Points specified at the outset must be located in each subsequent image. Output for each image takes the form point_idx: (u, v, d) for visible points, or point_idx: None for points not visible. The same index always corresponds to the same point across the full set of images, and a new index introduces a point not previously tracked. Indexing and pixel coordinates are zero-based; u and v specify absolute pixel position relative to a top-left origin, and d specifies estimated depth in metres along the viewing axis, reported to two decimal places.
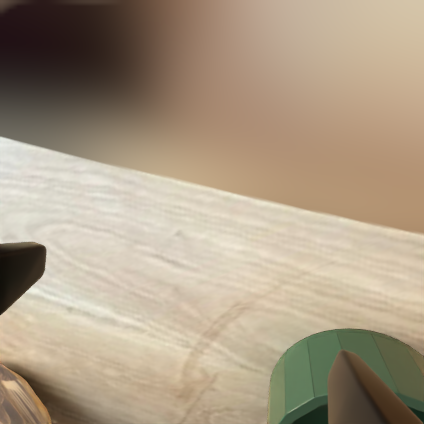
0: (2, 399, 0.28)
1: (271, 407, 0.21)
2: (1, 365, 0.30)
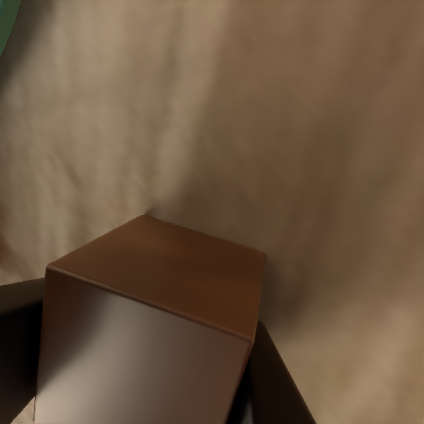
0: None
1: None
2: None
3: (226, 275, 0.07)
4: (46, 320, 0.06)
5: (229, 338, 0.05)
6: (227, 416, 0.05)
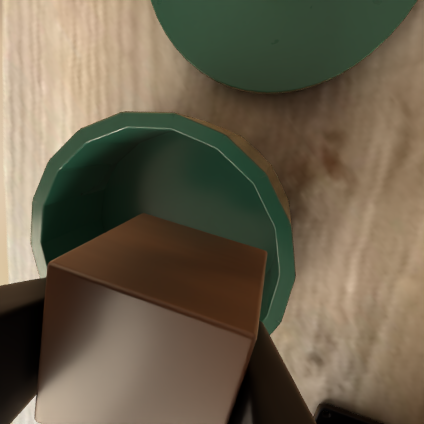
0: None
1: None
2: None
3: (228, 273, 0.07)
4: (47, 317, 0.06)
5: (232, 335, 0.05)
6: (229, 414, 0.05)
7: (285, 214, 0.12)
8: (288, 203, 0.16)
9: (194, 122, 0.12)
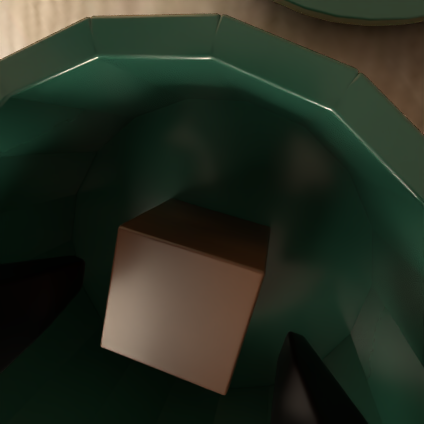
0: None
1: None
2: None
3: (242, 238, 0.09)
4: (116, 266, 0.08)
5: (248, 272, 0.07)
6: (245, 330, 0.08)
7: None
8: None
9: (276, 38, 0.05)
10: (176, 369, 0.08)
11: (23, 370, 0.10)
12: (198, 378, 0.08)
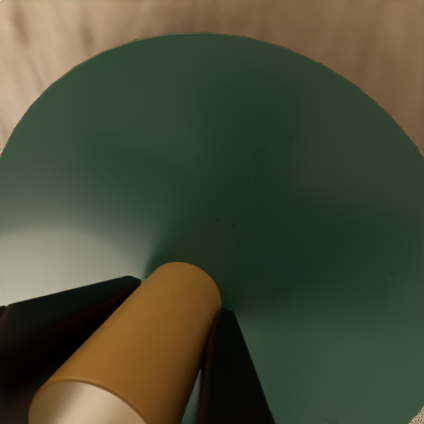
0: None
1: None
2: None
3: None
4: None
5: None
6: None
7: None
8: None
9: None
10: None
11: None
12: None
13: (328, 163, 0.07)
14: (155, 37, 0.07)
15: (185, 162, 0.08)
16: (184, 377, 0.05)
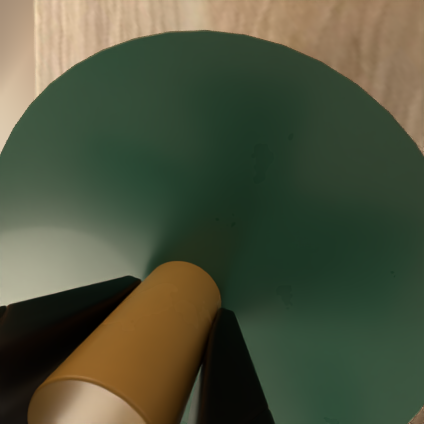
0: None
1: None
2: None
3: None
4: None
5: None
6: None
7: None
8: None
9: None
10: None
11: None
12: None
13: (328, 161, 0.07)
14: (155, 35, 0.07)
15: (185, 161, 0.08)
16: (184, 376, 0.05)
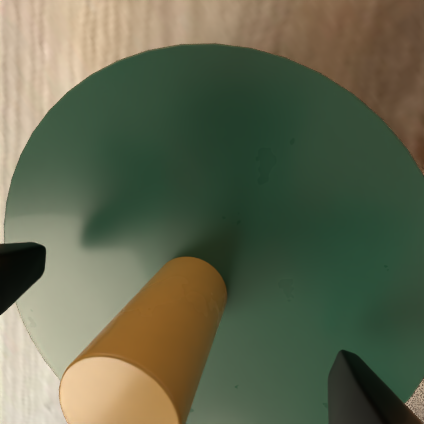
0: None
1: None
2: None
3: None
4: None
5: None
6: None
7: None
8: None
9: None
10: None
11: None
12: None
13: (326, 164, 0.08)
14: (167, 48, 0.08)
15: (193, 163, 0.08)
16: (196, 357, 0.06)
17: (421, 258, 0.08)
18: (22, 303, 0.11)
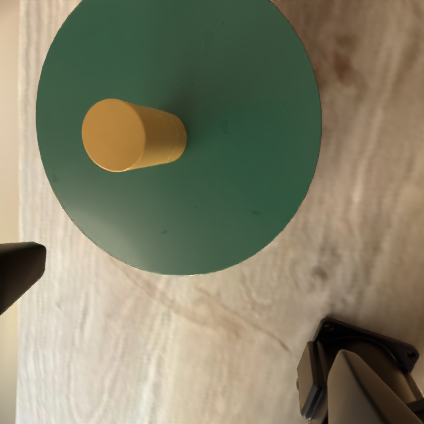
0: None
1: None
2: None
3: None
4: None
5: None
6: None
7: None
8: None
9: None
10: None
11: None
12: None
13: (244, 37, 0.12)
14: None
15: (163, 44, 0.13)
16: (158, 126, 0.11)
17: (303, 95, 0.12)
18: (47, 163, 0.16)
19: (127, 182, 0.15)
